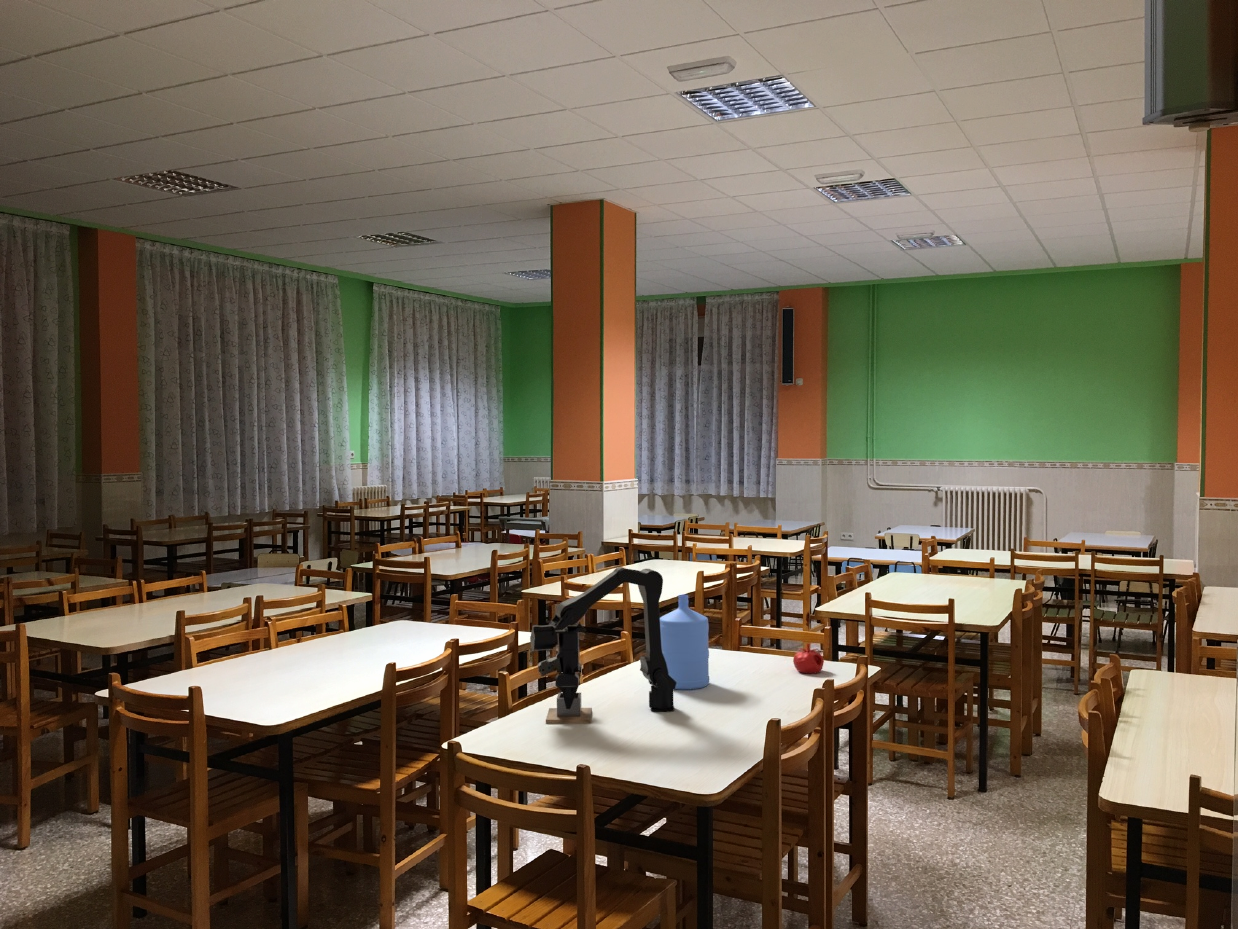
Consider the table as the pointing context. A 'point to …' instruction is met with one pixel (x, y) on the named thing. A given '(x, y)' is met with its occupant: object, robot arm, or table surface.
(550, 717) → the post block
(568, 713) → the grey cube shelf
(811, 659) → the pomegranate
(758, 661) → the table surface
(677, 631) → the water jug
